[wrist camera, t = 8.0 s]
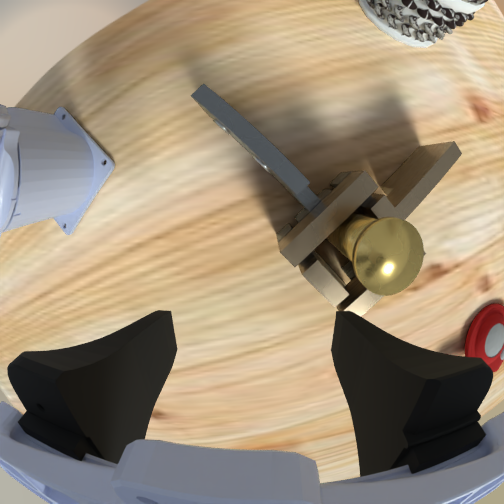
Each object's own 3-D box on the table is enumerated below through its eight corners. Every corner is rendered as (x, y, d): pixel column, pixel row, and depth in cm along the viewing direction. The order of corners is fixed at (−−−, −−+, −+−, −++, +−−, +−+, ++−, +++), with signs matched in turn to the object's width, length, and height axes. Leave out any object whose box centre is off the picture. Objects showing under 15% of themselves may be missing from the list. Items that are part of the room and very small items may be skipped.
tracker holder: (496, 287, 19) (527, 331, 18) (473, 286, 24) (507, 327, 22) (437, 390, 19) (477, 419, 18) (419, 376, 24) (460, 406, 22)
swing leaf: (334, 295, 21) (351, 324, 16) (276, 235, 20) (280, 252, 15) (443, 183, 18) (480, 187, 13) (397, 118, 17) (429, 105, 12)
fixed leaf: (393, 237, 19) (425, 253, 15) (333, 294, 21) (351, 324, 16) (245, 80, 17) (239, 52, 12) (181, 142, 18) (156, 132, 14)
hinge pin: (307, 226, 20) (340, 258, 11) (342, 192, 19) (397, 201, 10) (338, 260, 20) (383, 309, 12) (372, 228, 19) (434, 258, 11)
